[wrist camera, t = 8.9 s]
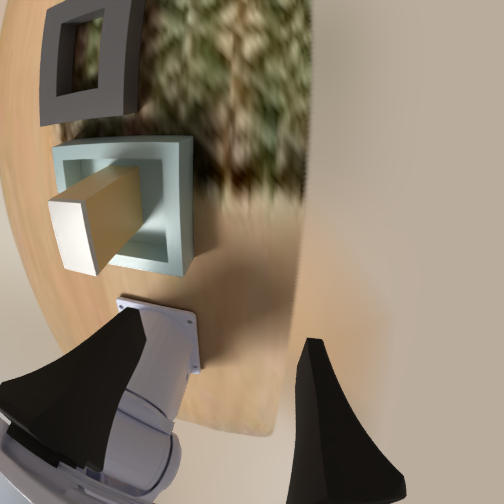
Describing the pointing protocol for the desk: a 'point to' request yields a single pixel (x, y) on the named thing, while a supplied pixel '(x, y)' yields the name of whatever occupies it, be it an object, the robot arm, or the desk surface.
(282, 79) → the desk surface
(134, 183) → the white and tan block
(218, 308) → the desk surface
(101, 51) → the dark gray rectangular frame
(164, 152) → the parts tray
